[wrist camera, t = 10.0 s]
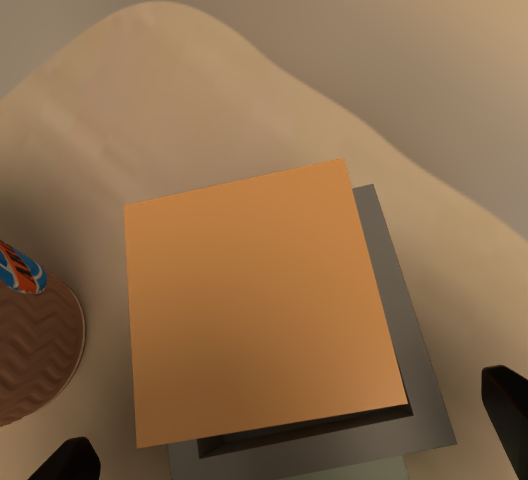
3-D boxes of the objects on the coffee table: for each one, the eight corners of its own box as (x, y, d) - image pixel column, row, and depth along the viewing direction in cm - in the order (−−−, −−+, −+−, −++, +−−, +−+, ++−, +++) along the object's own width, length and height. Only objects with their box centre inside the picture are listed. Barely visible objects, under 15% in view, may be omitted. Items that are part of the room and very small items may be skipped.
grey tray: (495, 661, 14) (577, 799, 10) (242, 702, 15) (203, 849, 10) (363, 225, 20) (374, 177, 15) (182, 268, 21) (139, 235, 16)
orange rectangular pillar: (362, 389, 17) (408, 404, 7) (241, 410, 17) (137, 449, 8) (335, 270, 18) (343, 157, 9) (225, 292, 19) (123, 205, 9)
